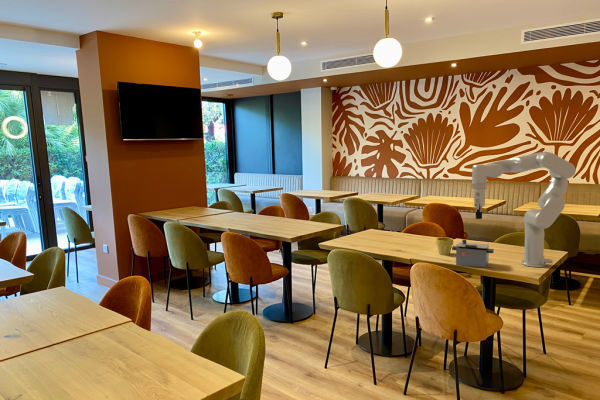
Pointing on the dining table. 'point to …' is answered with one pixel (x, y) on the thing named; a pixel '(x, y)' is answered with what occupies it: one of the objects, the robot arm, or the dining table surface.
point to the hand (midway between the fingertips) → (478, 218)
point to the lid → (472, 245)
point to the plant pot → (444, 245)
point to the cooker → (472, 256)
